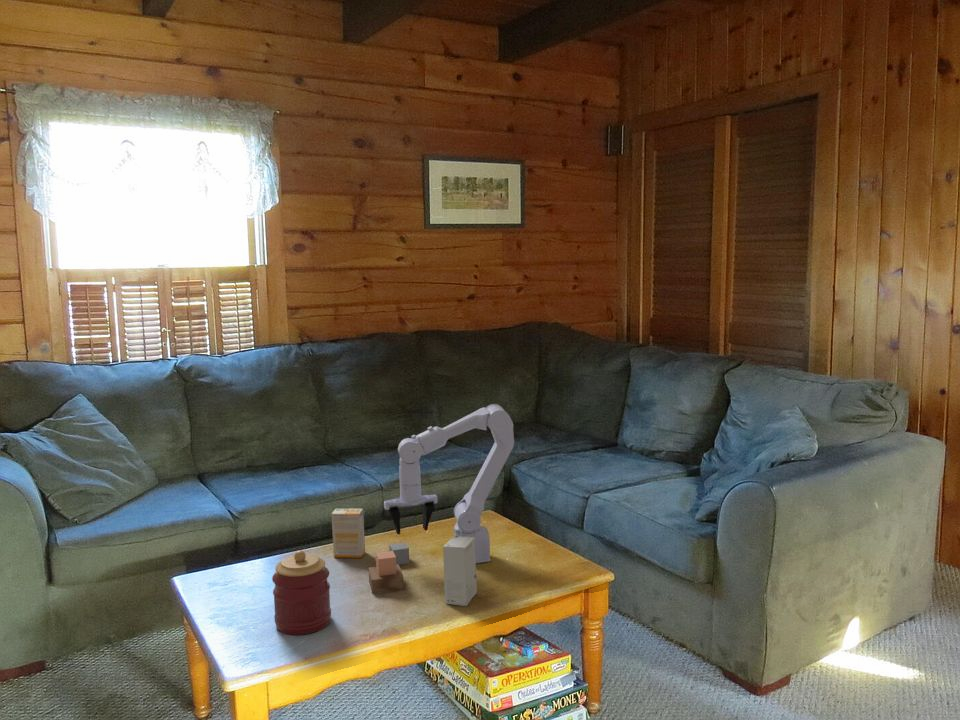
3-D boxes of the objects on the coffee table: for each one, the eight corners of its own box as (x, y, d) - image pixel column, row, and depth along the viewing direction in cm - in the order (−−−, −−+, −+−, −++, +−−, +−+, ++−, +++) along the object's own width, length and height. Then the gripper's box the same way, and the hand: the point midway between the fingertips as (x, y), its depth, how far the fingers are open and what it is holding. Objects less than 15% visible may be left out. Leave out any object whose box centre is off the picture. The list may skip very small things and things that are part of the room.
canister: (265, 621, 190) (261, 549, 188) (316, 605, 198) (312, 536, 196) (289, 642, 180) (285, 566, 178) (341, 624, 188) (338, 552, 186)
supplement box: (365, 551, 232) (364, 508, 230) (361, 558, 227) (360, 513, 225) (337, 551, 233) (335, 507, 231) (333, 557, 228) (330, 513, 226)
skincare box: (466, 607, 196) (465, 548, 194) (443, 604, 198) (442, 546, 196) (477, 592, 204) (476, 536, 202) (454, 590, 206) (453, 534, 203)
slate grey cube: (405, 557, 227) (404, 542, 227) (409, 563, 223) (408, 547, 222) (389, 560, 226) (389, 544, 225) (393, 566, 222) (392, 550, 221)
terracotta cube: (393, 567, 211) (392, 550, 211) (396, 573, 207) (395, 557, 206) (376, 569, 210) (375, 552, 210) (379, 576, 206) (378, 559, 205)
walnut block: (399, 578, 214) (398, 564, 213) (403, 591, 206) (403, 576, 206) (368, 582, 212) (368, 567, 211) (372, 594, 204) (371, 579, 204)
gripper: (387, 490, 213) (389, 539, 215) (440, 483, 218) (441, 532, 220) (381, 483, 220) (383, 531, 222) (432, 476, 225) (433, 523, 227)
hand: (411, 531), depth 221 cm, fingers open, 7 cm apart
